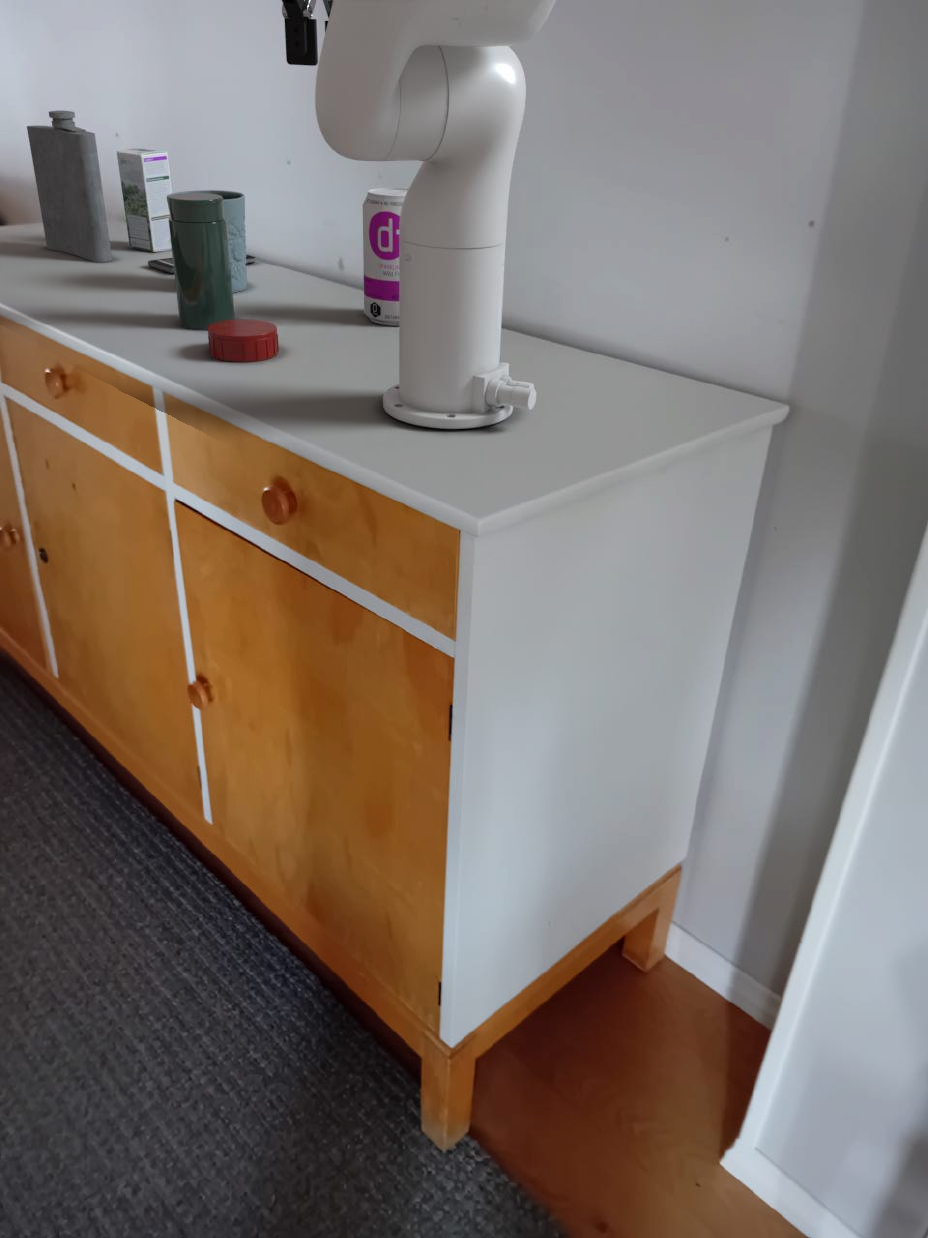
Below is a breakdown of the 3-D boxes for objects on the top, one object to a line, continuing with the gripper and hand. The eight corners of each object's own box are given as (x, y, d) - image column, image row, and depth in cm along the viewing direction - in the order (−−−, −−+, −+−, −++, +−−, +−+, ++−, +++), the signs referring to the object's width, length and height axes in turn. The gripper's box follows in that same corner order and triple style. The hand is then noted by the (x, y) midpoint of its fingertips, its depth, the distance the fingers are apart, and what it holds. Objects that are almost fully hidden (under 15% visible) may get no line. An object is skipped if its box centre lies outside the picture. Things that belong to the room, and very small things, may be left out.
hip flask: (43, 247, 159) (19, 106, 149) (66, 244, 161) (44, 106, 151) (97, 262, 150) (76, 114, 140) (121, 259, 153) (102, 113, 142)
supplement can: (420, 329, 122) (422, 198, 115) (356, 323, 124) (353, 193, 116) (435, 314, 129) (438, 189, 122) (374, 309, 131) (373, 185, 123)
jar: (246, 321, 123) (236, 195, 116) (211, 332, 118) (199, 202, 110) (204, 313, 125) (192, 190, 118) (168, 324, 120) (153, 196, 113)
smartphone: (258, 257, 153) (170, 268, 144) (258, 262, 153) (171, 273, 144) (231, 250, 158) (145, 260, 148) (231, 254, 158) (146, 265, 149)
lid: (200, 359, 108) (197, 333, 107) (222, 341, 115) (220, 316, 113) (267, 364, 107) (265, 338, 106) (286, 345, 114) (285, 321, 112)
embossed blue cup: (259, 292, 136) (253, 198, 130) (185, 297, 133) (175, 200, 127) (240, 277, 144) (233, 188, 138) (170, 281, 140) (159, 190, 134)
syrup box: (180, 247, 162) (169, 150, 155) (152, 252, 158) (140, 152, 151) (155, 243, 165) (144, 147, 158) (127, 248, 160) (114, 149, 153)
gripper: (316, -127, 103) (322, 62, 112) (236, -156, 89) (250, 63, 97) (384, -128, 101) (385, 65, 110) (314, -157, 87) (321, 67, 96)
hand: (322, 64), depth 104 cm, fingers open, 9 cm apart
